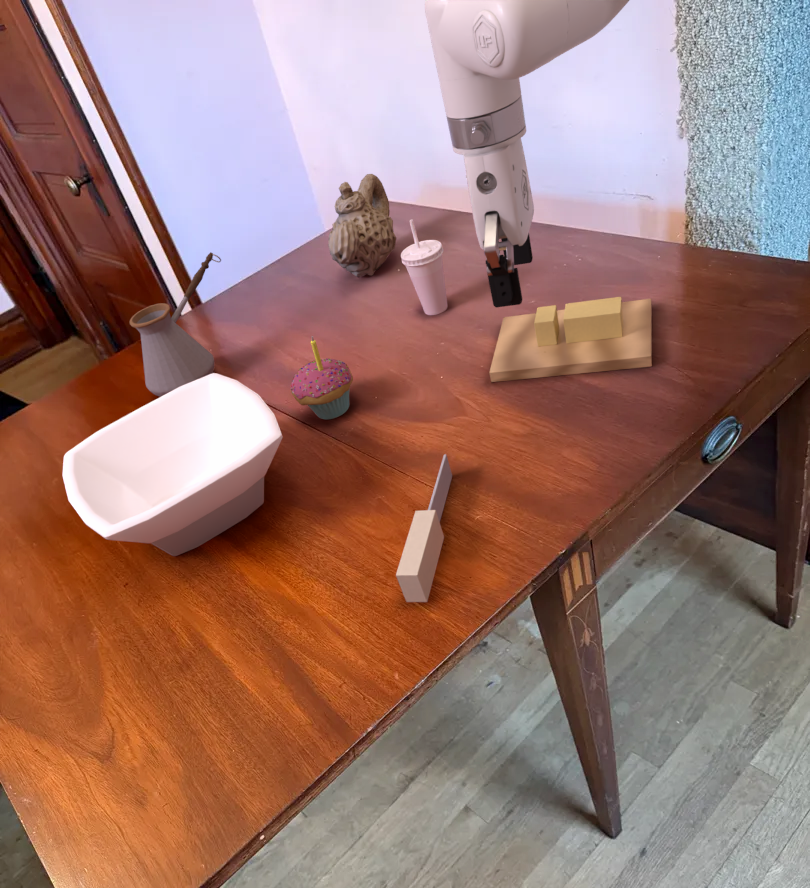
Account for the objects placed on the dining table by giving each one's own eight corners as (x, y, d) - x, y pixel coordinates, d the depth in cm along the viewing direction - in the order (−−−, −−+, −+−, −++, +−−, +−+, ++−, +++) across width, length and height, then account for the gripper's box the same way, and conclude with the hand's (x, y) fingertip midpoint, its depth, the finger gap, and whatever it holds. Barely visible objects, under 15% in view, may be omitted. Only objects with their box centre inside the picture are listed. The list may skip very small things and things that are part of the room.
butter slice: (559, 328, 100) (556, 304, 98) (556, 344, 97) (553, 320, 95) (540, 330, 101) (537, 307, 99) (537, 346, 98) (534, 323, 96)
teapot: (379, 294, 126) (351, 205, 116) (320, 299, 130) (289, 214, 120) (420, 236, 139) (398, 151, 129) (365, 242, 144) (340, 161, 134)
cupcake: (374, 399, 102) (347, 321, 94) (331, 435, 99) (299, 356, 91) (333, 386, 108) (304, 311, 100) (291, 420, 104) (257, 345, 96)
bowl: (329, 498, 89) (299, 429, 82) (140, 614, 83) (91, 550, 76) (252, 423, 106) (222, 361, 99) (91, 515, 100) (47, 456, 93)
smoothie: (436, 295, 120) (414, 208, 110) (464, 302, 116) (444, 212, 106) (408, 315, 117) (383, 228, 108) (436, 323, 113) (412, 233, 104)
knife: (427, 602, 73) (417, 575, 71) (406, 602, 74) (395, 575, 71) (460, 475, 86) (453, 448, 83) (442, 476, 87) (434, 449, 84)
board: (651, 308, 100) (651, 298, 99) (651, 366, 91) (651, 356, 90) (505, 326, 107) (503, 317, 106) (491, 382, 98) (489, 372, 97)
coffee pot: (185, 412, 114) (136, 324, 104) (140, 402, 120) (90, 318, 110) (274, 337, 124) (238, 251, 114) (229, 331, 131) (190, 249, 121)
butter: (623, 320, 97) (621, 296, 95) (622, 337, 95) (620, 312, 92) (568, 327, 100) (565, 303, 97) (566, 343, 97) (563, 319, 95)
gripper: (512, 148, 68) (538, 318, 79) (534, 89, 79) (554, 244, 91) (433, 164, 70) (469, 326, 82) (465, 104, 82) (493, 253, 93)
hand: (514, 283), depth 86 cm, fingers open, 9 cm apart
